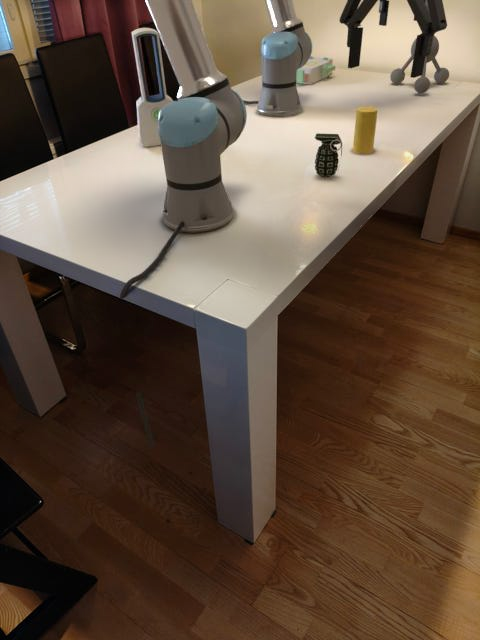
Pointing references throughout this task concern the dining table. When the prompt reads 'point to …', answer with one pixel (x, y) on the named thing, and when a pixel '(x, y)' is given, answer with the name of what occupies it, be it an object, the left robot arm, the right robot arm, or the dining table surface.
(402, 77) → the molecular model
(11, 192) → the dining table surface
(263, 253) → the dining table surface
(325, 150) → the grenade
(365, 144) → the canister
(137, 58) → the electronic device
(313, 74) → the decorative block
